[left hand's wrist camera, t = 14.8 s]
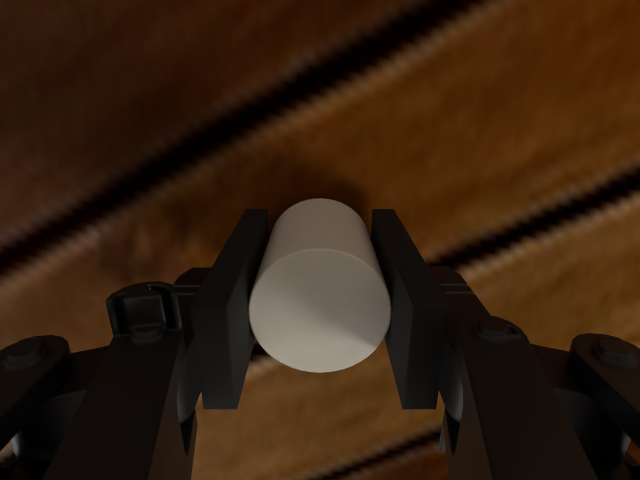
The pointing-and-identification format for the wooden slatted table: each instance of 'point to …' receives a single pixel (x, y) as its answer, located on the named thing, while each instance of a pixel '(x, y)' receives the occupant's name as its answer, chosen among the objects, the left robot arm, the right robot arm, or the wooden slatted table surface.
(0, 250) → the wooden slatted table surface
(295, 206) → the canister
